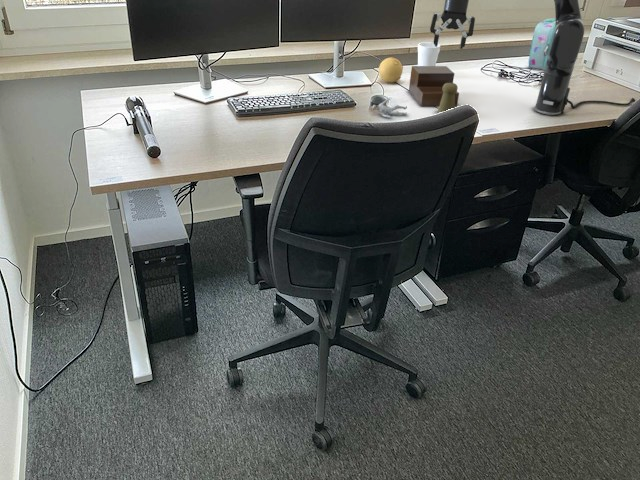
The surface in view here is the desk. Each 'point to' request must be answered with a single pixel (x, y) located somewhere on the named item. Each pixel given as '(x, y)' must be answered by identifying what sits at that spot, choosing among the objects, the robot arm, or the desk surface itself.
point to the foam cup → (427, 54)
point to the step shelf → (430, 84)
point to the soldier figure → (388, 109)
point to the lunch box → (542, 43)
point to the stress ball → (390, 69)
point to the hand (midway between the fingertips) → (448, 47)
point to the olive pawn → (448, 97)
